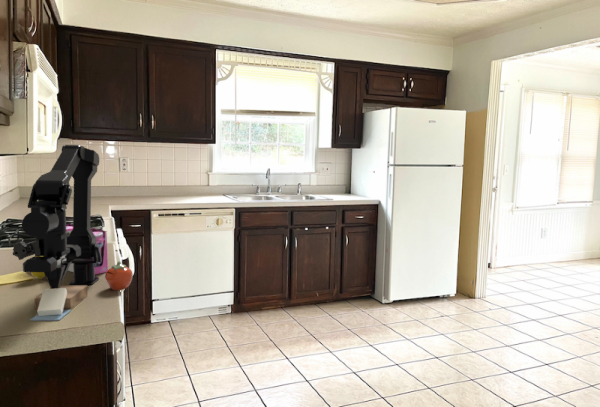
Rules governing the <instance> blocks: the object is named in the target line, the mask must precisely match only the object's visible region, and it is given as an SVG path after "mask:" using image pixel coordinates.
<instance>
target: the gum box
mask: <svg viewBox="0 0 600 407" xmlns="http://www.w3.org/2000/svg"><path fill="white" fill-rule="evenodd" d="M90 229H91V230H92V232H93V234H94V235H95V237H96V243H97V244H98V247H99V249H100V252H101V262H98V263H96V264H95V263H94V265H95V275H99V274H103V273H106V272H107V271H108V270H109V268H108V267H109V266H108V264H109V263H108V236H107V232H108V231H106V230H103V229H99V228H93V227H90ZM72 230H73V223H66V232H69V234H70V233H71V231H72ZM93 258H94V257H93ZM67 272H72V273H74V268H73V263H71V264H70V266H69V268H68V270H67Z"/></svg>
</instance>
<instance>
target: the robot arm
mask: <svg viewBox="0 0 600 407" xmlns="http://www.w3.org/2000/svg"><path fill="white" fill-rule="evenodd" d="M99 165H100V155H99V153H97V151H95V150H94V149H90V148H86V147H85V146H83V145H80V144H65V145H62V146H61V153H60V154H59V156H58V158H57V159H56V161H55V163H54V164H53V166H52V168H51V169H50V170H49V172H46V173H44V174H42V175H40V176H39V177H38V179H37V180H36V181H35V183H33V186H32V188H31V192H30V195H29V199H28V204H27V208H28V209H30V212H28V213H27V214H26V215H25V216H24V217H23V219H22V221H21V228H22V231H23V232H25V234H26V235H28V236H30V237H32V238H35V239H34V241H30V242H28V243H26V242H25V241H20V242H17V243H14V244H13V247H12V248H13V249H12V251H13V252H12V256H15V257H17V258H18V261H21V260H24V258H27V257H30V256H31V257H30V258H27V259H26V260H25V261H24V262H23V263H22V272H23V273H31V272H44V273H45V275H46V276H45V277H46V279H47V281H48V284H49V286H50V288H51V289H55V288H59V287H60V285H62V283H63V281H64V278H65V276H66V274H67V272H68V268H69V266H70V264H71V263H73V268H74V272H73V280H71V281H70V282H69V283H68V285H87V286H89V285H93V284H94V283H96V282H97V281H98V280H99V279H100V277H99V276H96V274H95V265H94V263H95V264H96V263H98V262H101V252H100V249H99V247H98V244H97V243H96V237H95V235H94V234H93V232H92V230H91V229H90V228H91V215H92V214H91V207H92V206H91V205H92V200H91V199H92V180H93V178H94V177H95V175H96V174H97V173H98V166H99ZM71 179H73V190H72V187H71V185H70V181H71ZM72 193H73V198H72V199H73V200H72V201H73V204H72V206H73V207H72V214H73V216H72V224H73V230H72V231H71V233H70V234H69V232H66V224H67V211H66V210H67V207H68V205H69V202H70V199H71V196H72ZM32 256H33V257H32ZM34 256H38V257H34ZM40 256H43V257H40ZM93 257H94V258H93Z"/></svg>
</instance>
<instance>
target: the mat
mask: <svg viewBox="0 0 600 407" xmlns="http://www.w3.org/2000/svg"><path fill="white" fill-rule="evenodd" d="M71 311H72V310H63V312H62V314H59V315H48V316H39V315H38V313H37V314H36V315H35V316H33V317H32V318H30V320H29V321H36V322H37V321H61V320H62V319H64V317H66V316H67V315H68V314H70V313H71Z"/></svg>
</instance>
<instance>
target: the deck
mask: <svg viewBox="0 0 600 407" xmlns="http://www.w3.org/2000/svg"><path fill="white" fill-rule="evenodd" d="M59 288H66V290H67V296H66V300H65V304H64V308H63V310H71V311H72V310H73V309H74V308H75V307H77V305H79V304H80V303H81V302H83V301H84V300H85V299H87V297H88V296H89V295H88V292H89V291H88V285H69V284H68V285H66V284H65V285H63V284H61V285H60V287H59ZM49 289H51V287H50V288H49ZM42 294H43V292H42V293H41V294H39V295H38V296H36V297H35V298H34V309H35V311H37V310H38V307H39V304H40V300H41V297H42ZM84 298H85V299H84ZM83 299H84V300H83Z"/></svg>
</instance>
